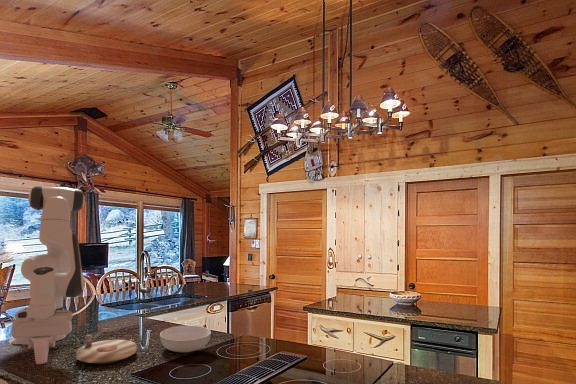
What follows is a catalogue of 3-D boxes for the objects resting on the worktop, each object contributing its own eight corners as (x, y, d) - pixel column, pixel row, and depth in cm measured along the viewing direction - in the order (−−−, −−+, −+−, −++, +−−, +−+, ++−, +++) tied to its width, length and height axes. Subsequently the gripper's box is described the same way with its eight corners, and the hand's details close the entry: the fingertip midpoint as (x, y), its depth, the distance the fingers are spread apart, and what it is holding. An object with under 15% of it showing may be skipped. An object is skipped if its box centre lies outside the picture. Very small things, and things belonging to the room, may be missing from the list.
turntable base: (84, 367, 159) (84, 363, 159) (85, 353, 173) (85, 349, 173) (130, 361, 165) (130, 357, 165) (127, 348, 180) (127, 344, 180)
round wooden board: (148, 347, 176) (148, 333, 176) (108, 366, 155) (109, 351, 155) (105, 340, 183) (105, 327, 183) (62, 358, 163) (62, 343, 163)
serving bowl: (185, 361, 165) (185, 343, 166) (148, 351, 177) (148, 334, 177) (221, 346, 183) (221, 330, 183) (185, 337, 194) (185, 322, 194)
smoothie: (36, 359, 166) (37, 323, 167) (53, 358, 167) (54, 322, 167) (28, 365, 160) (28, 327, 160) (46, 365, 160) (46, 327, 161)
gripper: (74, 307, 169) (73, 342, 169) (16, 310, 164) (15, 346, 164) (70, 311, 163) (69, 347, 163) (9, 314, 158) (8, 352, 158)
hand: (41, 347), depth 164 cm, fingers closed on smoothie, 6 cm apart
